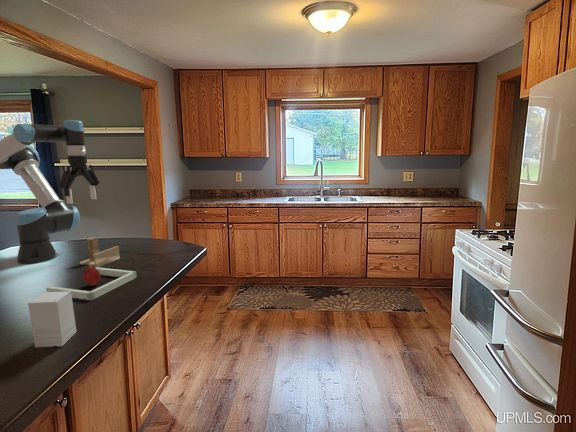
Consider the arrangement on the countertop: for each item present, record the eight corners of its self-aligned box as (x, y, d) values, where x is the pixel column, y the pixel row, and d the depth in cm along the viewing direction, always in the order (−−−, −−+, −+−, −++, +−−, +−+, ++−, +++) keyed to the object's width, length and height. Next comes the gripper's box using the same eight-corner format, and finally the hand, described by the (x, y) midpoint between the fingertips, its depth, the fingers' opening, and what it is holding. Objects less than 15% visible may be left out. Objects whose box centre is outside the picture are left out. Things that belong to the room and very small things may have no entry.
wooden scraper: (76, 265, 161) (73, 241, 159) (100, 256, 174) (98, 234, 172) (96, 268, 158) (94, 243, 156) (119, 258, 171) (117, 235, 169)
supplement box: (77, 332, 102) (72, 290, 100) (62, 347, 95) (56, 302, 92) (50, 333, 102) (45, 291, 99) (33, 347, 95) (26, 302, 92)
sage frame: (47, 294, 129) (46, 287, 129) (97, 273, 151) (96, 267, 150) (91, 300, 124) (90, 293, 123) (136, 277, 145) (136, 271, 145)
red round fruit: (88, 282, 140) (86, 263, 138) (104, 282, 140) (102, 262, 139) (81, 288, 134) (78, 268, 133) (97, 288, 134) (94, 267, 133)
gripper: (59, 155, 153) (65, 205, 157) (104, 154, 176) (108, 197, 180) (45, 155, 155) (52, 204, 159) (92, 154, 178) (96, 197, 182)
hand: (82, 201), depth 170 cm, fingers open, 13 cm apart
